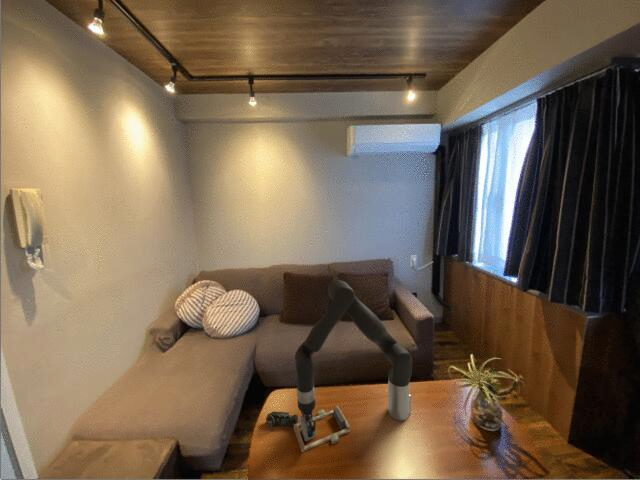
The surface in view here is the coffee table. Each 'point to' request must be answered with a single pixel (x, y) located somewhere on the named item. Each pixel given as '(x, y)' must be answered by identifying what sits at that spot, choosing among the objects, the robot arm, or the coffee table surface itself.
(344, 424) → the beam frame
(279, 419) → the stun grenade
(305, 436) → the grey rectangular block
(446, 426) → the coffee table surface
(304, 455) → the coffee table surface
